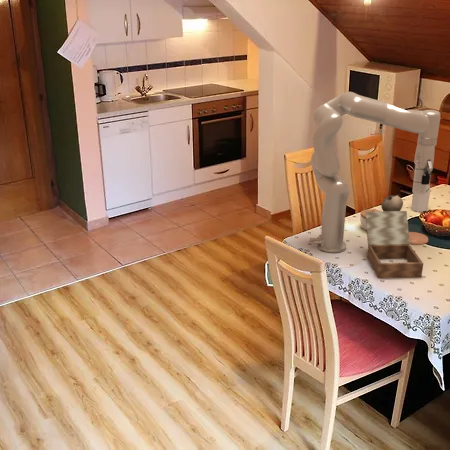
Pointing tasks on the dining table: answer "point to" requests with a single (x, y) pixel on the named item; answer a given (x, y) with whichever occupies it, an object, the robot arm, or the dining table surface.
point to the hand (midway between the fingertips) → (421, 180)
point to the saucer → (417, 238)
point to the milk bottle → (420, 201)
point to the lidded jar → (363, 216)
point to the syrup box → (419, 180)
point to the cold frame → (391, 245)
